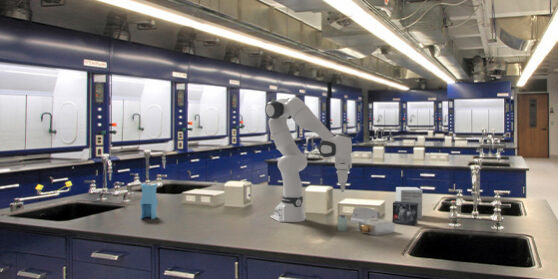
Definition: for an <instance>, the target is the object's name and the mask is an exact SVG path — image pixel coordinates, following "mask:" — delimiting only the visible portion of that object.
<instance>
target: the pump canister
mask: <svg viewBox="0 0 558 279" xmlns="http://www.w3.org/2000/svg"><path fill="white" fill-rule="evenodd" d="M337 231H338V232H347V231H348V217H347V216H346V215H345V214H340V215H339V216H338V217H337Z"/></svg>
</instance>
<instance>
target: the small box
mask: <svg viewBox="0 0 558 279" xmlns="http://www.w3.org/2000/svg"><path fill="white" fill-rule="evenodd" d="M417 214H418V203H412V202H401V201H396V200H395V201H393V202H392V221H391V222H393V223H394V224H397V225H404V226H405V225H406V226H416V225H418V219H417V216H418V215H417Z"/></svg>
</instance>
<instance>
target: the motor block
mask: <svg viewBox="0 0 558 279" xmlns="http://www.w3.org/2000/svg"><path fill="white" fill-rule="evenodd" d="M358 231H359V232H360V233H362V234H367V235H371V236H374V237H376V236H382V235H386V234H387V235H388V234H393V233H395V223H393V222H392V221H389V220H387V219H382V218H380V219H379V218H373V219H366V220H364V221H360V222H359V224H358Z"/></svg>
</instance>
